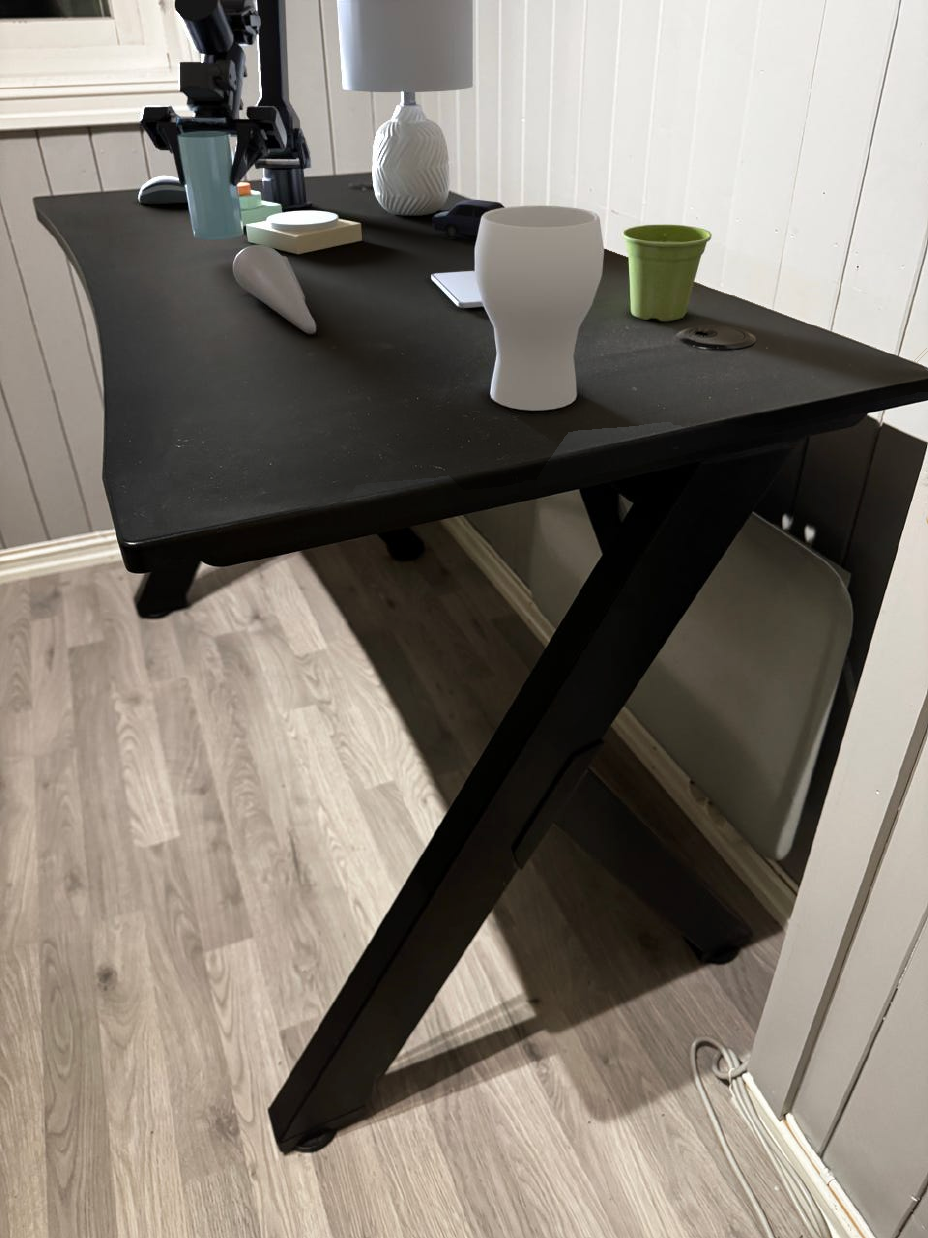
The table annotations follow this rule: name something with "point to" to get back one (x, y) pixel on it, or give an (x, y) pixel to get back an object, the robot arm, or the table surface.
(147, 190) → the computer mouse
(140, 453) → the table surface
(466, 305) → the smartphone
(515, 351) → the cup
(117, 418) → the table surface
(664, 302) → the plant pot
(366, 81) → the lamp
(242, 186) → the button
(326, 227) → the scale
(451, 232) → the toy car
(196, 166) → the tumbler
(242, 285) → the long tapered cone
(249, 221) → the button box
